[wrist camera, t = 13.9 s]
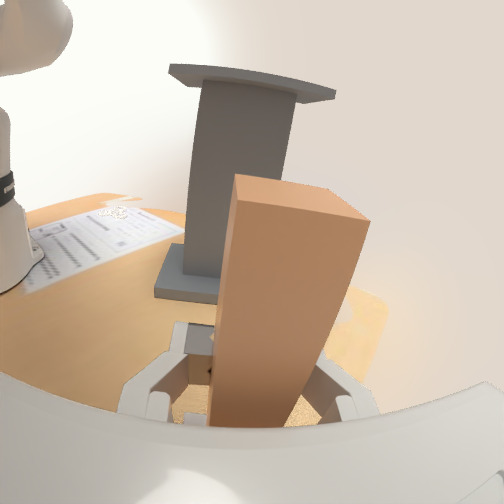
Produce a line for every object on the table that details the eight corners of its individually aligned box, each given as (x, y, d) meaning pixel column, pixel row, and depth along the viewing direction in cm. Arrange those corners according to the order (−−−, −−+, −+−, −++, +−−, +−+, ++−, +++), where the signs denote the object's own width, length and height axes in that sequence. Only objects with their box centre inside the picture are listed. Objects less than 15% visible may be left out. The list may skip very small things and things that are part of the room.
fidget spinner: (95, 216, 50) (95, 213, 50) (110, 207, 56) (110, 204, 56) (122, 221, 50) (122, 217, 50) (136, 211, 56) (136, 207, 56)
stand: (283, 309, 34) (336, 90, 22) (154, 297, 32) (169, 63, 20) (271, 262, 44) (305, 97, 33) (171, 251, 42) (188, 79, 31)
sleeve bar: (417, 230, 5) (347, 185, 9) (162, 191, 4) (192, 160, 8) (256, 495, 13) (252, 450, 17) (184, 492, 13) (186, 447, 16)
